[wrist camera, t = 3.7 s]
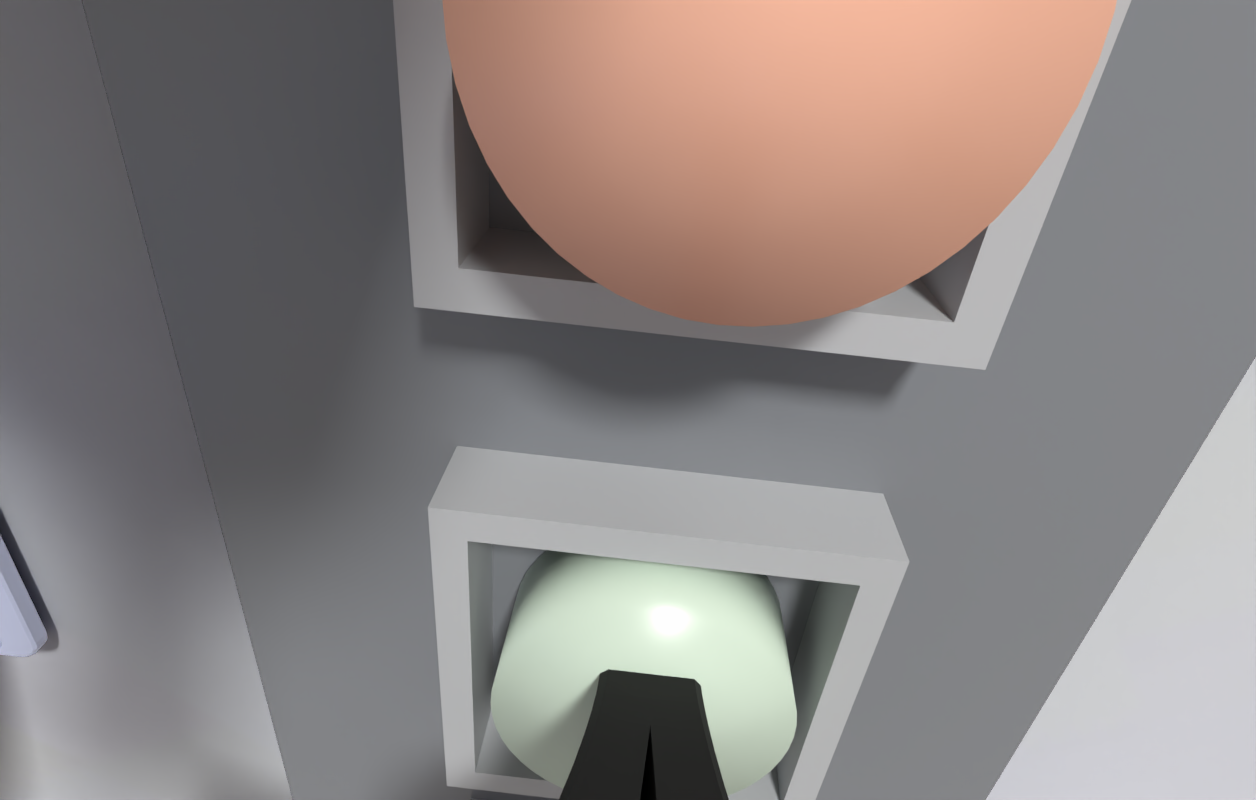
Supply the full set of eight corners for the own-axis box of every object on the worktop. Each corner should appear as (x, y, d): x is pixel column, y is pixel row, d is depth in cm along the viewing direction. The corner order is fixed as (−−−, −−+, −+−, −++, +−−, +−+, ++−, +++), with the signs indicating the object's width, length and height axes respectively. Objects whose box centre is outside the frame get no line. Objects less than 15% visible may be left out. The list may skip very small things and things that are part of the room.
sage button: (514, 693, 13) (491, 790, 12) (516, 505, 11) (488, 594, 9) (755, 721, 13) (765, 822, 11) (808, 538, 11) (829, 633, 9)
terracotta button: (500, 228, 7) (454, 296, 6) (498, -360, 5) (422, -501, 4) (921, 275, 7) (984, 355, 6) (1105, -301, 5) (1283, -416, 4)
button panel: (358, 855, 20) (304, 1001, 18) (86, -536, 7) (-327, -890, 4) (848, 912, 20) (876, 1070, 17) (1515, -395, 7) (2111, -656, 4)
